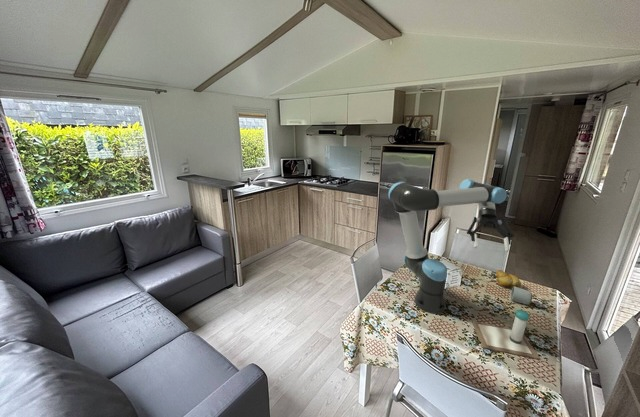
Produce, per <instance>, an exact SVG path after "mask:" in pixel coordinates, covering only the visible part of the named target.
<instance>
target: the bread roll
mask: <svg viewBox="0 0 640 417" xmlns="http://www.w3.org/2000/svg"><path fill="white" fill-rule="evenodd" d="M495 276H496V283H497V284H498V286H500V287H503V288H508V289H512V288H513V287H518V288H521V286H522V282H521V281H520V280H521V279H520V278H519V277H518V276H517V275H515V274H511V273H507V272H505V271H504V270H501V269H498V270H497V271H496V274H495Z"/></svg>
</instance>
